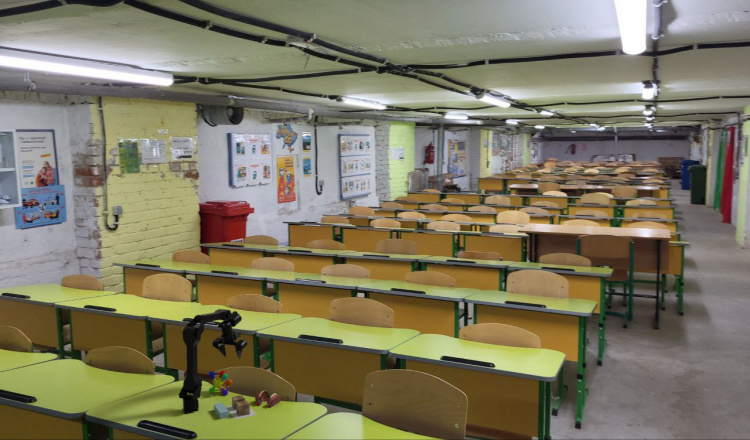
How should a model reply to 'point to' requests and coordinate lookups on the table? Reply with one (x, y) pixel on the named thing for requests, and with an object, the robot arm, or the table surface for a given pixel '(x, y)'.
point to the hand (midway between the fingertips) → (232, 357)
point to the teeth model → (267, 398)
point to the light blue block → (221, 410)
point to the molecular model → (218, 384)
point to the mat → (237, 414)
